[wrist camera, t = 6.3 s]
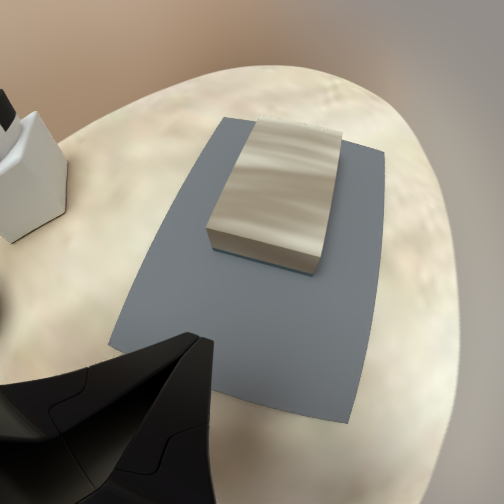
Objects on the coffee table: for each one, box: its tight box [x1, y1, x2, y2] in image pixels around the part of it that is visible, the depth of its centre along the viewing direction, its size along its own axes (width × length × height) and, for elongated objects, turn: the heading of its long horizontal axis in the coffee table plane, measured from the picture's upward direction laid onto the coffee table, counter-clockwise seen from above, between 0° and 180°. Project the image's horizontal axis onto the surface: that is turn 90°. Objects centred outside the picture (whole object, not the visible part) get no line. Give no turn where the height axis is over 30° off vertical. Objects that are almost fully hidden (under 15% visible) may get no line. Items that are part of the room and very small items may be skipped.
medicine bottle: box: [0, 89, 68, 243], centre depth 15 cm, size 7×7×12 cm
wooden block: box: [206, 115, 342, 277], centre depth 17 cm, size 3×6×10 cm
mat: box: [108, 117, 385, 424], centre depth 18 cm, size 20×14×1 cm
